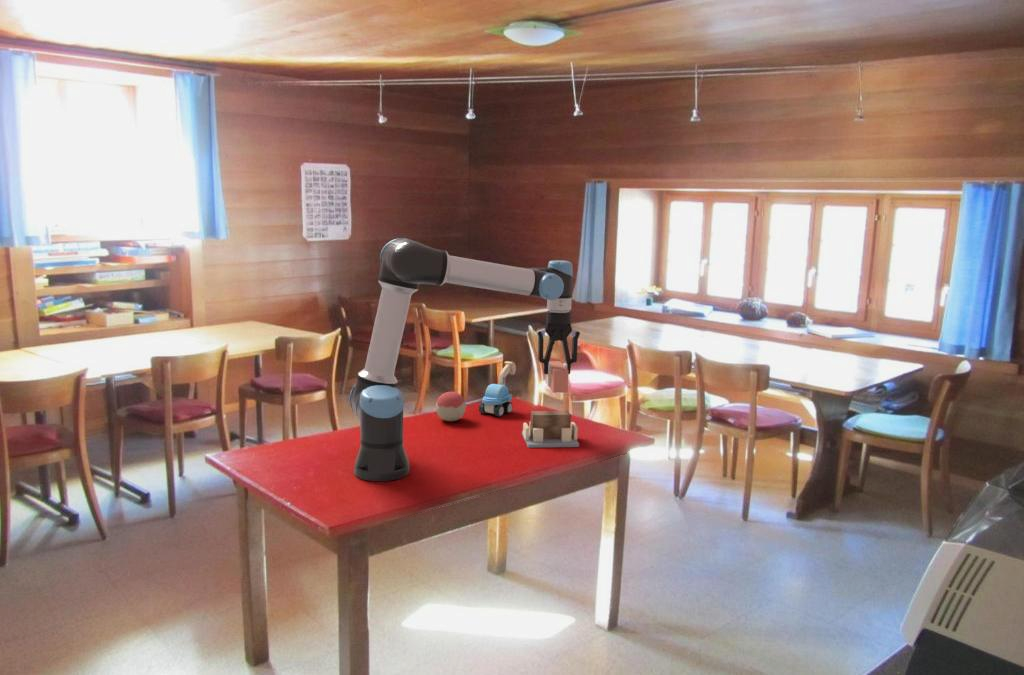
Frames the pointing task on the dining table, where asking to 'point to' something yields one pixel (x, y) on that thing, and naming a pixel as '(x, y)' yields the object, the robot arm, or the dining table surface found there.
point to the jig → (566, 439)
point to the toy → (450, 406)
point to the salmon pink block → (558, 377)
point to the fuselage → (550, 423)
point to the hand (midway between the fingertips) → (556, 383)
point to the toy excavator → (498, 394)
